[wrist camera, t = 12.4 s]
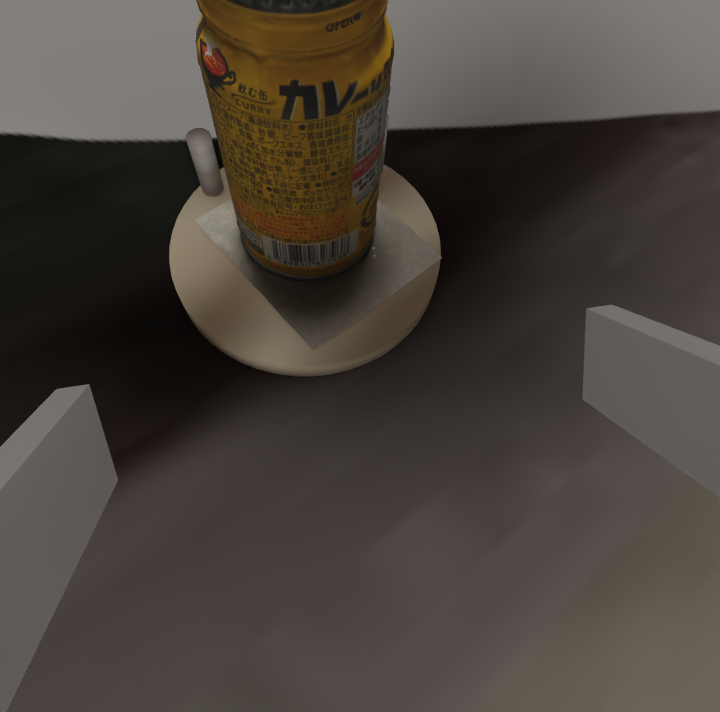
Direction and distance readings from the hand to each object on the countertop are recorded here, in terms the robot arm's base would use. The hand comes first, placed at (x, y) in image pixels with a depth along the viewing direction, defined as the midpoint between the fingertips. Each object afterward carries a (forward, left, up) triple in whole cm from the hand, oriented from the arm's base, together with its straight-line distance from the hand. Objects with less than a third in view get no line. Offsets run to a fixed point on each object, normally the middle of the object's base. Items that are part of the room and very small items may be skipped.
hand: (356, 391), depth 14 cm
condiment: (+7, -7, -6) cm, 12 cm away
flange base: (+7, -7, -7) cm, 12 cm away
